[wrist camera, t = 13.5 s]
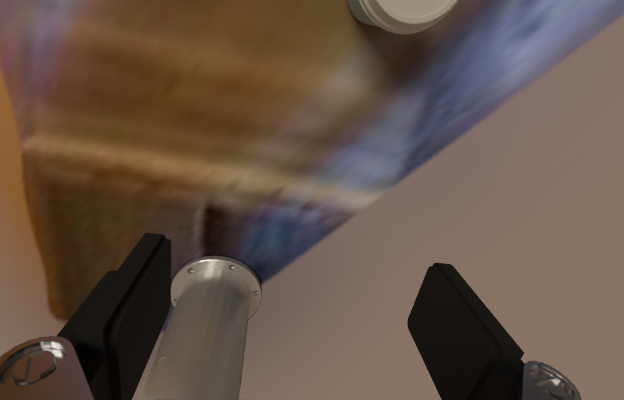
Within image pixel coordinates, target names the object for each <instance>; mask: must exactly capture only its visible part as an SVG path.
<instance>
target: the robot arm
mask: <svg viewBox="0 0 624 400" xmlns="http://www.w3.org/2000/svg"><path fill="white" fill-rule="evenodd" d="M261 297H262V288H261V283H260V281H259V279H258V277H257V275H256V274H255V273H254V271H252V270H251V269H250V268H249V267H248V266H247V265H245V264H243V263H242V262H240V261H238V260H235V259H232V258H228V257H224V256H206V257H202V258H198V259H196V260H193V261H191V262H189V263H188V264H186V265H185V266H183V267H182V268H181V269H180V270H179V271H178V273H177V274H176V276H175V278H174V280H173V282H172V285H171V240H168V239H166V238H165V235H162V234H152V233H145V234H144V236H143V237H142V238H141V240H140V241H139V242H138V244H137V245H136V246H135V248H134V249H133V250H132V252H131V253H130V254H129V256H128V257H127V258H126V260H125V261H124V262H123V264H122V265H121V266H120V268H119V269H118V271H108V272H107V273H106V274H105V275H104V276H103V278H102V279H101V280H100V281H99V283H98V284H97V285H96V287H95V288H94V289H93V290H92V292H91V293H90V294H89V295H88V297H87V298H86V299H85V301H84V302H83V303H82V304H81V306H80V307H79V308H78V309H77V311H76V312H75V313H74V315H73V316H72V317H71V318H70V320H69V321H68V322H67V323H66V325H65V326H64V327H63V329H62V330H61V331H60V332H59V334H58V335H57V336H48V337H39V338H35V339H32V340H28V341H26V342H24V343H22V344H19V345H17V346H15V347H13V348H12V349H10V350H9V351H7V352H6V353H5V354H3V355H2V356H1V357H0V400H132V398H133V395H134V393H135V391H136V388H137V386H138V383H139V381H140V379H141V377H142V374H143V372H144V369H145V367H146V365H147V362H148V360H149V358H150V355H151V353H152V350H153V348H154V346H155V343H156V341H157V339H158V337H159V334H160V332H161V329H162V327H163V325H164V322H165V320H166V318H167V315H168V313H169V310H170V304H171V301H172V303H173V306H174V307H175V308H174V310H173V313H172V315H171V318H170V320H169V323H168V325H167V327H166V330H165V332H164V335H163V337H162V340H161V342H160V345H159V347H158V350H157V352H156V354H155V357H154V359H153V362H152V364H151V367H150V369H149V371H148V374H147V376H146V379H145V381H144V384H143V386H142V389H141V391H140V394H139V396H138V399H137V400H239V392H240V385H241V376H242V368H243V359H244V350H245V342H246V333H247V323H248V320H249V319H250V318H251V317H252V316H253V315H254V314H255V312H256V311H257V310H258V308H259V306H260V303H261ZM408 329H409V331H410V333H411V335H412V337H413V340H414V342H415V344H416V346H417V348H418V350H419V352H420V354H421V356H422V359H423V361H424V363H425V365H426V367H427V369H428V371H429V373H430V376H431V378H432V380H433V382H434V384H435V386H436V388H437V391H438V393H439V395H440V397H441V399H442V400H582V399H581V396H580V393H579V391H578V390H577V388H576V387H575V385H574V384H573V383H572V382H570V380H569V379H568V378H567V377H565V376H564V375H563V374H562V373H560V372H559V371H558V370H556V369H554V368H553V367H551V366H549V365H547V364H544V363H542V362H538V361H528V362H527V363H525V364H524V363H523V361H522V360H521V357H522V356H523V354H524V352H523V351H522V350H521V349H520V347H519V346H518V345H517V344H516V342H515V341H514V340H513V339H512V338H511V336H510V335H509V334H508V333H507V332H506V330H505V329H504V328H503V327H502V325H501V324H500V323H499V322H498V320H497V319H496V318H495V317H494V316H493V314H492V313H491V312H490V311H489V309H488V308H487V307H486V306H485V305H484V303H483V302H482V301H481V300H480V299H479V297H478V296H477V295H476V294H475V292H474V291H473V290H472V289H471V287H470V286H469V285H468V284H467V283H466V281H465V280H464V279H463V278H462V276H461V275H460V274H459V273H458V272H457V270H456V269H455V268H454V267H453V266H452V265H450V264H444V263H443V264H442V263H434V264H433V266H430V267H429V268H428V270H427V273H426V275H425V278H424V280H423V283H422V285H421V288H420V290H419V293H418V295H417V298H416V300H415V303H414V305H413V308H412V310H411V313H410V315H409V318H408Z"/></svg>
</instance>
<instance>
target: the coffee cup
mask: <svg viewBox="0 0 624 400" xmlns="http://www.w3.org/2000/svg"><path fill="white" fill-rule="evenodd" d="M457 1H458V0H347V4H348V7H349V10H350V11H351V13H352V15H353V16H354V17H355V18H356V19H357V20H358V21H360V22H362V23H364V24H368V25H372V26H378V27H381V28H382V29H384V30H386V31H389V32H392V33H395V34H414V33H418V32H421V31H424V30H426V29H428V28H430V27H431V26H433V25H434V24H436V23H437V22H439V21H440V20H441V19H443V18H444V17H445V16H446V15H447V14H448V13H449V12H450V11H451V9H452V8H453V7H454V6H455V4H456V3H457Z"/></svg>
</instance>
